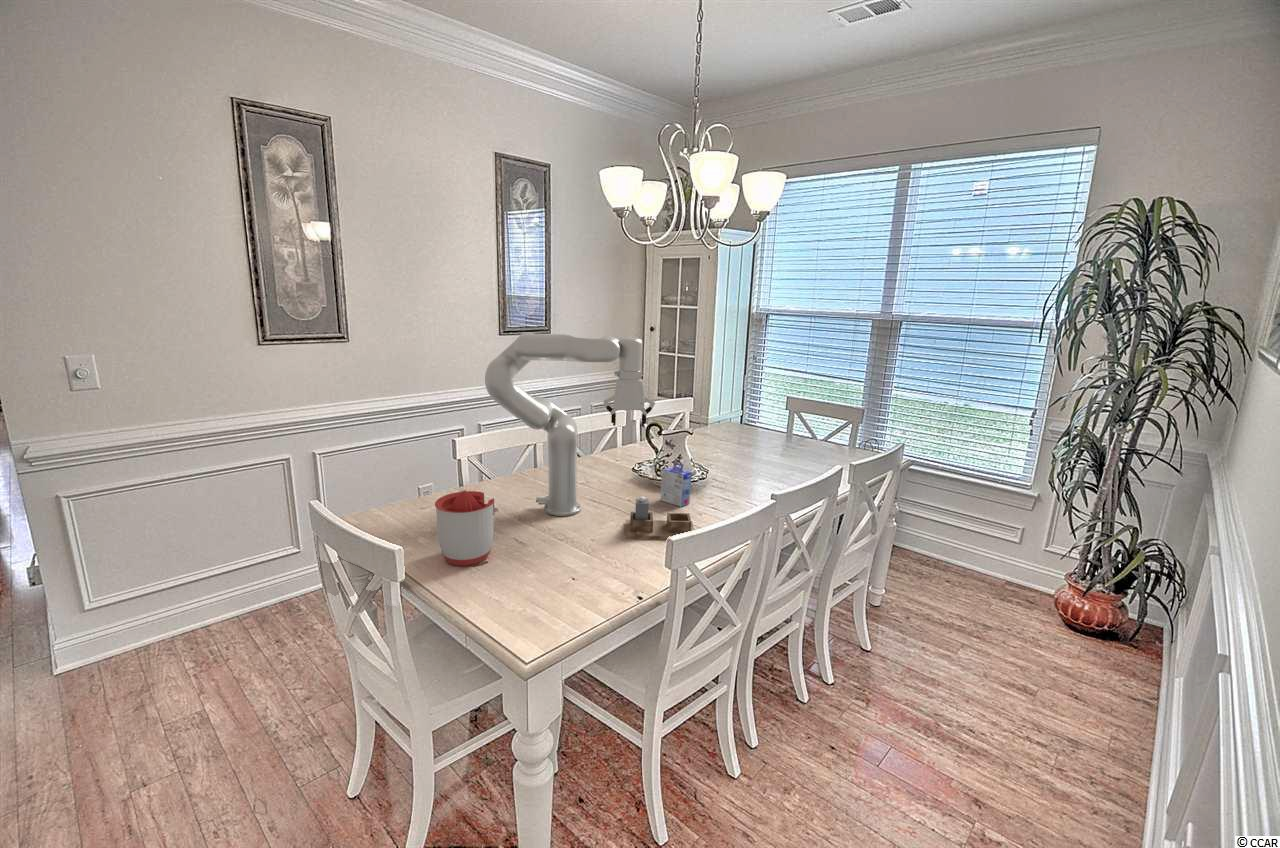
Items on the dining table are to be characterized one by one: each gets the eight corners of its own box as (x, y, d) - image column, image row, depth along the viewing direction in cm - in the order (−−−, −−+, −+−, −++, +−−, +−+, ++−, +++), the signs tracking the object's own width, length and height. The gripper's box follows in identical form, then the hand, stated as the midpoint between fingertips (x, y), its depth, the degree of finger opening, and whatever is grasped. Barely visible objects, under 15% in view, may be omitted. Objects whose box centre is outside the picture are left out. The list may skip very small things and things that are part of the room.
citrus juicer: (511, 557, 159) (510, 490, 155) (453, 576, 148) (450, 505, 143) (484, 538, 170) (482, 476, 166) (428, 555, 159) (424, 488, 154)
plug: (635, 529, 177) (636, 499, 175) (634, 524, 181) (636, 495, 179) (647, 530, 177) (648, 500, 175) (647, 525, 181) (648, 495, 179)
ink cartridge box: (690, 503, 204) (692, 465, 201) (681, 507, 200) (684, 469, 197) (668, 496, 210) (670, 459, 207) (659, 500, 206) (661, 463, 203)
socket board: (625, 538, 174) (625, 523, 172) (625, 522, 185) (626, 508, 184) (696, 540, 174) (697, 525, 173) (691, 524, 186) (692, 510, 185)
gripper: (603, 376, 182) (602, 427, 186) (656, 378, 182) (654, 428, 186) (604, 372, 189) (603, 422, 193) (655, 374, 190) (653, 423, 194)
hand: (628, 425), depth 190 cm, fingers open, 9 cm apart
